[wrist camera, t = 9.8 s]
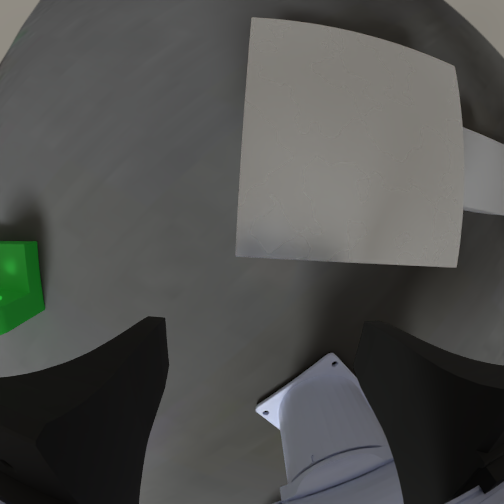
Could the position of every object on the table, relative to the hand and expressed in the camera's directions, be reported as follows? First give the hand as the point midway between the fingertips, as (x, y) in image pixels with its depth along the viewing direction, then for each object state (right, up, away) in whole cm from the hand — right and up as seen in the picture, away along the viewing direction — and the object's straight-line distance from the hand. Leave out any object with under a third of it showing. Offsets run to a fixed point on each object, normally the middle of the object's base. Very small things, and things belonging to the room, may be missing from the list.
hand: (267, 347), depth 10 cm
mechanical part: (-25, +1, +11) cm, 27 cm away
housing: (+5, +10, +9) cm, 14 cm away
